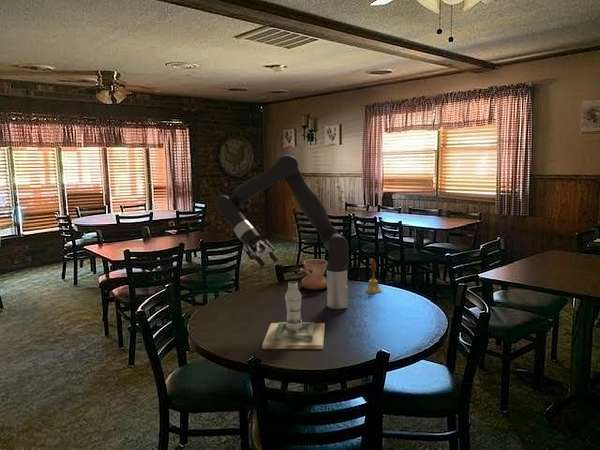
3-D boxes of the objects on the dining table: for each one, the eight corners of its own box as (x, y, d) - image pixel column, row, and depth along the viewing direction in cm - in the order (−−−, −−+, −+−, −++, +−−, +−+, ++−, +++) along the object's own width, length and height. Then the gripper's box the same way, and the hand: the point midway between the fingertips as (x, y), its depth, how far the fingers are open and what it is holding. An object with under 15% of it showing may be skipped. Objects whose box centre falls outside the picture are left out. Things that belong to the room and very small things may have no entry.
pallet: (324, 326, 192) (324, 318, 192) (322, 349, 170) (322, 339, 170) (271, 326, 194) (270, 318, 194) (262, 348, 172) (262, 339, 172)
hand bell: (363, 289, 243) (363, 258, 241) (379, 288, 244) (379, 257, 242) (367, 293, 235) (367, 262, 232) (383, 292, 236) (383, 261, 233)
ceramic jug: (305, 293, 238) (305, 266, 236) (295, 286, 251) (295, 259, 249) (337, 289, 244) (338, 263, 242) (326, 282, 258) (326, 257, 255)
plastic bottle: (290, 337, 178) (289, 286, 175) (283, 332, 184) (281, 282, 181) (306, 334, 181) (304, 283, 178) (297, 328, 187) (296, 279, 184)
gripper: (240, 230, 189) (264, 261, 185) (262, 225, 201) (285, 253, 197) (231, 242, 193) (254, 272, 189) (253, 236, 205) (275, 265, 200)
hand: (270, 263), depth 193 cm, fingers open, 8 cm apart
